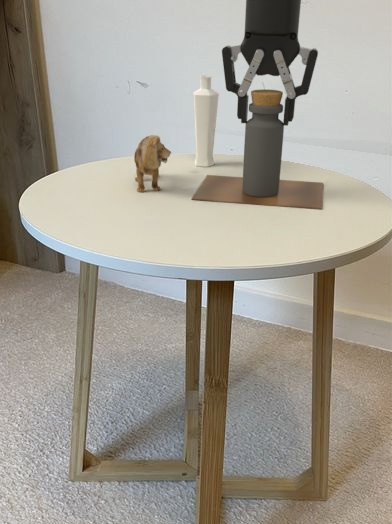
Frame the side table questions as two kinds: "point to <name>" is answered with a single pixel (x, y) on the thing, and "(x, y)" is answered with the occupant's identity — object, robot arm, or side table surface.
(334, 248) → the side table surface
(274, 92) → the bottle
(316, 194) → the copper mat
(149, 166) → the lion figurine
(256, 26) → the robot arm
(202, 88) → the perfume bottle
